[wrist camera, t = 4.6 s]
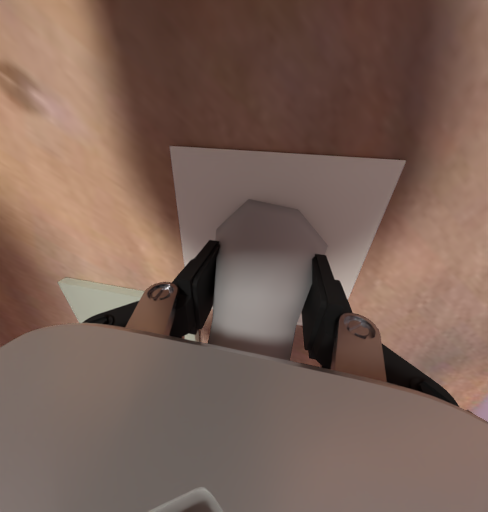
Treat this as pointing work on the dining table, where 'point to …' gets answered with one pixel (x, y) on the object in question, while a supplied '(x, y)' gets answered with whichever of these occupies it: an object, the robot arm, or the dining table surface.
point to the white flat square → (286, 197)
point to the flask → (262, 278)
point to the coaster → (99, 298)
